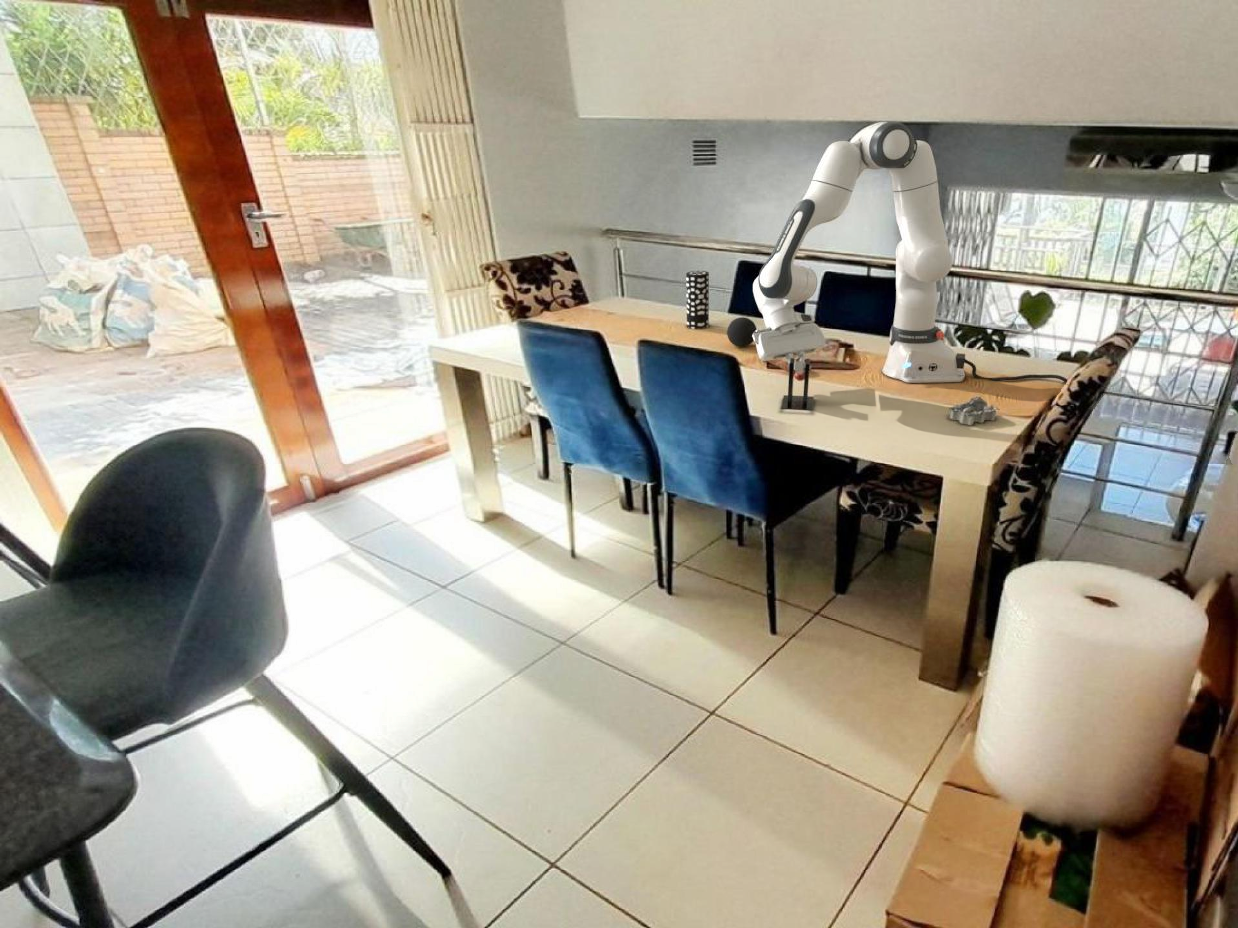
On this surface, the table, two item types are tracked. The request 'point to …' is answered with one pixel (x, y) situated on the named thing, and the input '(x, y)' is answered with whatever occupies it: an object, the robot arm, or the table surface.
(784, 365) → the bread
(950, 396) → the table surface
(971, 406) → the grey lumpy block
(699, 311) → the white-spotted black cylinder
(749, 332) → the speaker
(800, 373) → the lever
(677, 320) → the table surface
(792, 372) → the bracket
